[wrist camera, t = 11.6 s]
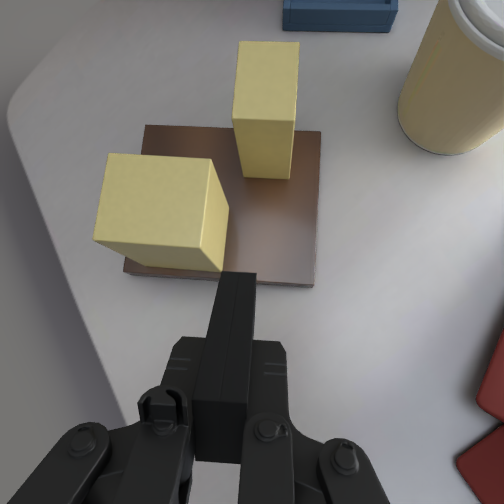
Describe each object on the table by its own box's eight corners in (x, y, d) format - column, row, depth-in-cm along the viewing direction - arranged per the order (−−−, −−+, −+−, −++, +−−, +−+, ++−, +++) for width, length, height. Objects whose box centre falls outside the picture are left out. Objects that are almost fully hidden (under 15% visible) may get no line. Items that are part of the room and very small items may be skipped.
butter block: (144, 266, 27) (91, 240, 19) (154, 201, 28) (107, 152, 20) (222, 272, 27) (200, 248, 19) (229, 207, 28) (211, 158, 20)
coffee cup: (512, 73, 30) (664, -91, 18) (497, 177, 28) (654, 69, 17) (397, 52, 31) (471, -116, 19) (375, 151, 29) (443, 33, 18)
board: (130, 274, 28) (122, 271, 27) (151, 134, 31) (144, 124, 29) (312, 287, 27) (314, 285, 26) (318, 140, 30) (321, 131, 28)
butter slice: (243, 177, 28) (231, 118, 20) (248, 118, 29) (239, 40, 21) (289, 179, 28) (295, 120, 20) (293, 120, 29) (299, 41, 21)
